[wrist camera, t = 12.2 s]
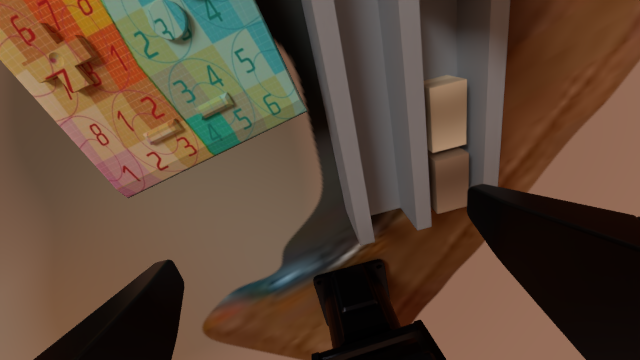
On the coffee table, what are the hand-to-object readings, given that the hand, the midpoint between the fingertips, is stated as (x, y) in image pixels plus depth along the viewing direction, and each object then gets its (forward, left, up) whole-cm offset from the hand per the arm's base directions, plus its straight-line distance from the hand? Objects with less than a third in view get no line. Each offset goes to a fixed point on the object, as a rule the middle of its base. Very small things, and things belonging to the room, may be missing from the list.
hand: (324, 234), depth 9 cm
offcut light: (-1, -9, -11) cm, 14 cm away
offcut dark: (-5, -9, -11) cm, 15 cm away
